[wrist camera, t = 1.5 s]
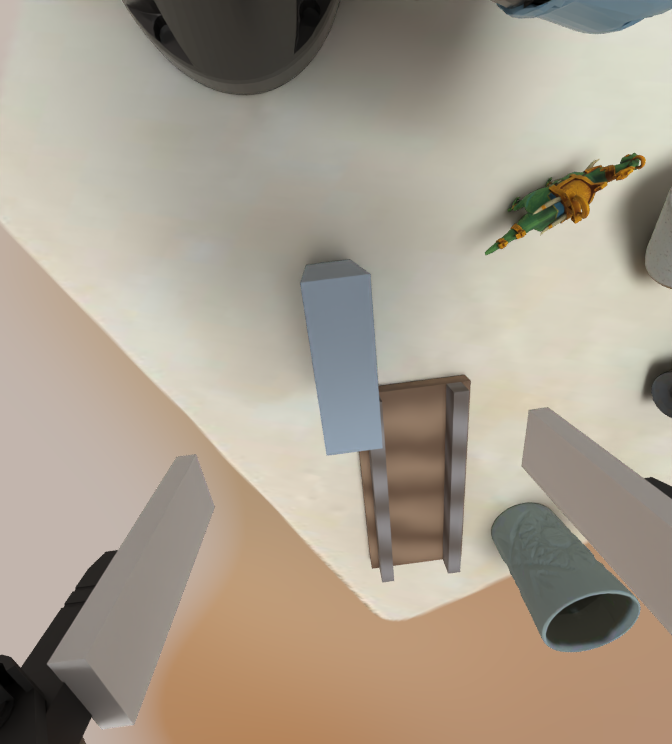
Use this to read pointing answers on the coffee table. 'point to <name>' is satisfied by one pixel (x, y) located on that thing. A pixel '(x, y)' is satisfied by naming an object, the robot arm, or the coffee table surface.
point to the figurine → (565, 198)
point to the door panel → (343, 354)
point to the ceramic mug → (661, 247)
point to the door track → (418, 474)
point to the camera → (663, 393)
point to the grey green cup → (562, 581)
